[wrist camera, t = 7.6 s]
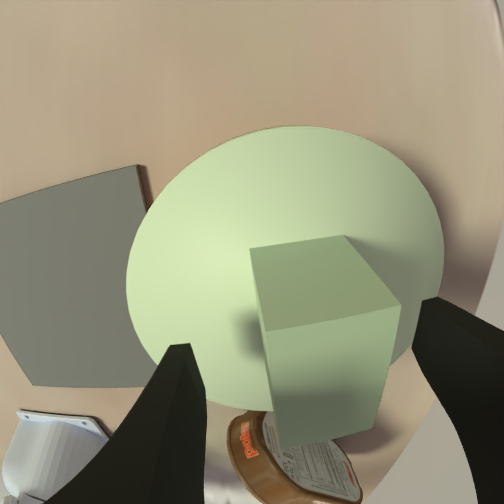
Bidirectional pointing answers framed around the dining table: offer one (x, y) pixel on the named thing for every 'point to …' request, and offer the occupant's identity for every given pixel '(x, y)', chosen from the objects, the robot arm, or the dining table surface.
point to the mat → (73, 282)
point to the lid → (289, 274)
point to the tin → (289, 465)
